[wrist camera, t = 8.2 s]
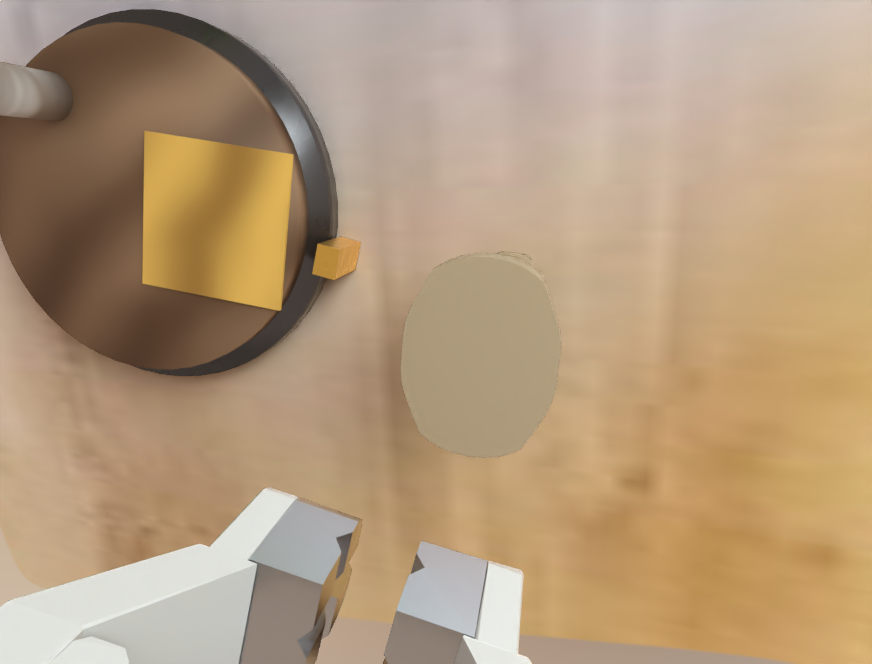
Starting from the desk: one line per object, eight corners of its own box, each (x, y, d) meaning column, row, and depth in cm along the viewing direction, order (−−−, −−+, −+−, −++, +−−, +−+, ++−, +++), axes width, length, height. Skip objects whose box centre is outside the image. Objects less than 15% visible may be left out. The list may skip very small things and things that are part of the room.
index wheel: (374, 245, 32) (339, 260, 27) (151, 415, 37) (85, 455, 32) (159, -52, 30) (76, -99, 25) (-43, 171, 35) (-147, 170, 30)
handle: (461, 331, 34) (394, 444, 20) (472, 215, 32) (408, 248, 18) (548, 342, 33) (544, 468, 19) (564, 224, 32) (573, 266, 17)
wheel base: (30, -19, 34) (-27, -41, 30) (396, 68, 31) (377, 55, 28) (17, 318, 39) (-32, 332, 36) (325, 414, 37) (303, 438, 34)
